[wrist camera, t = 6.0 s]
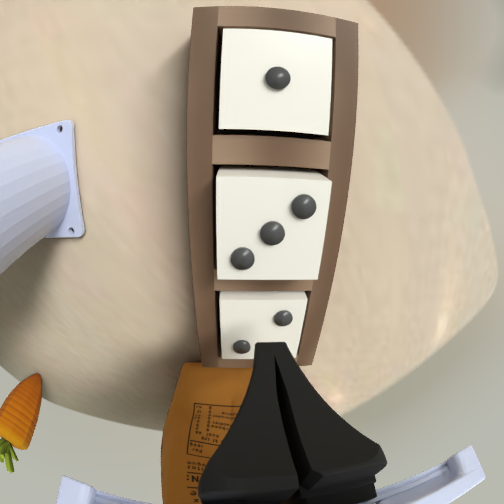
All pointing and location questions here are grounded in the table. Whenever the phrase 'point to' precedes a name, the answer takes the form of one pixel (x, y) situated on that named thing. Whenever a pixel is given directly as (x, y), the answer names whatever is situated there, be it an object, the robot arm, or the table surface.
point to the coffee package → (198, 426)
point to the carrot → (19, 418)
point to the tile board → (263, 153)
